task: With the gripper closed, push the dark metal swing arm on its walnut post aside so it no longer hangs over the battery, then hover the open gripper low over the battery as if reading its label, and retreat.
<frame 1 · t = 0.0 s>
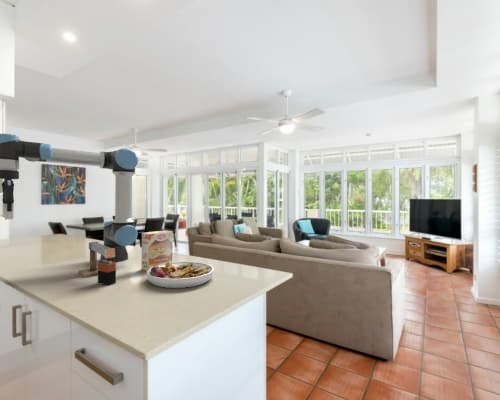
hand: (7, 218, 122), 28 cm above the counter, fingers open, 13 cm apart
battery: (106, 283, 122), on the counter
swing arm: (100, 248, 128), point 14 cm above the counter, hinge at 0.0°
arm post: (93, 273, 136), on the counter
bowl: (181, 280, 129), on the counter
coffeecake box: (157, 268, 148), on the counter
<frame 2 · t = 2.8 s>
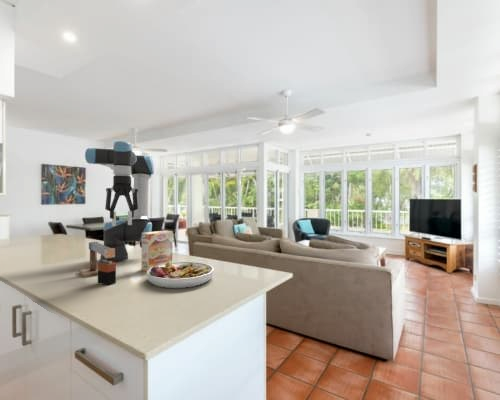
hand: (122, 225, 128), 25 cm above the counter, fingers open, 6 cm apart
nothing on the counter moved.
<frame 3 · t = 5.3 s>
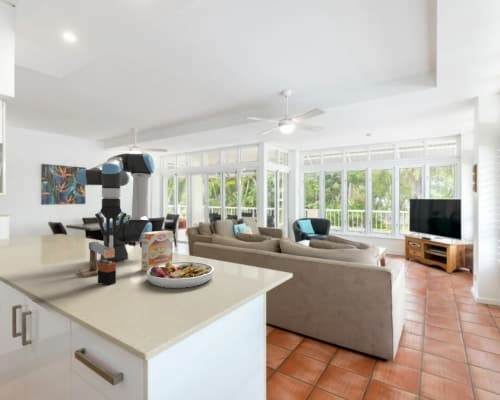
hand: (110, 250, 125), 14 cm above the counter, fingers closed
swing arm: (100, 248, 128), point 14 cm above the counter, hinge at 0.5°, touching gripper
everything else where it was.
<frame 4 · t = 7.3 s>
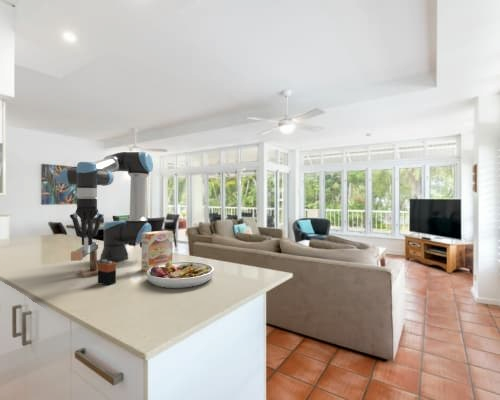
hand: (87, 252, 119), 14 cm above the counter, fingers closed
swing arm: (86, 250, 125), point 14 cm above the counter, hinge at 30.0°, touching gripper
everything else where it was.
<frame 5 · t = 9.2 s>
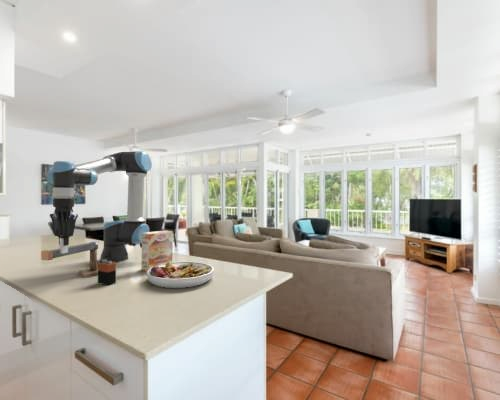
hand: (63, 252, 118), 14 cm above the counter, fingers closed
swing arm: (73, 249, 125), point 14 cm above the counter, hinge at 60.1°, touching gripper
everything else where it was.
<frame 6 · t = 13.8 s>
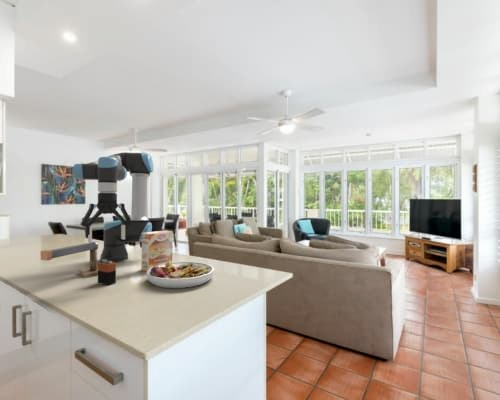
hand: (107, 240, 122), 19 cm above the counter, fingers open, 13 cm apart
swing arm: (73, 249, 125), point 14 cm above the counter, hinge at 60.9°
everything else where it was.
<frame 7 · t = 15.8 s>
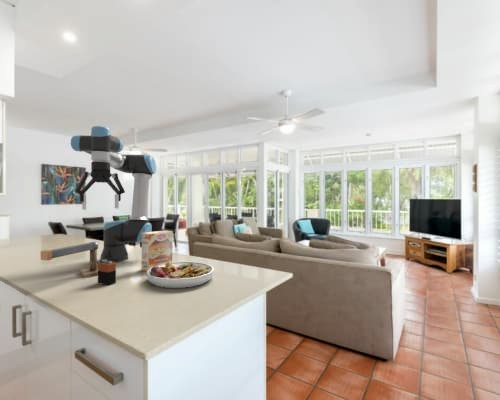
hand: (101, 208, 125), 33 cm above the counter, fingers open, 13 cm apart
nothing on the counter moved.
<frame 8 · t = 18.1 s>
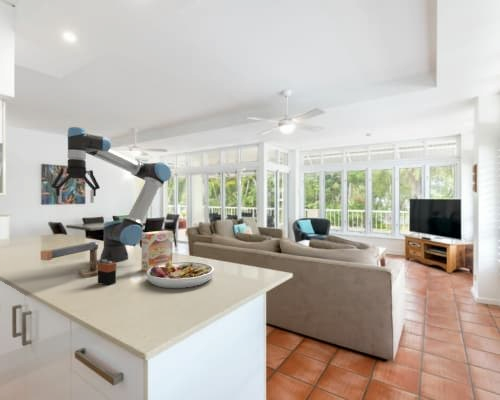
hand: (76, 202, 136), 35 cm above the counter, fingers open, 13 cm apart
nothing on the counter moved.
at the end: swing arm at +61° (first picture: +0°); battery moved 0.3 cm from its start; battery tilted 0° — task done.
